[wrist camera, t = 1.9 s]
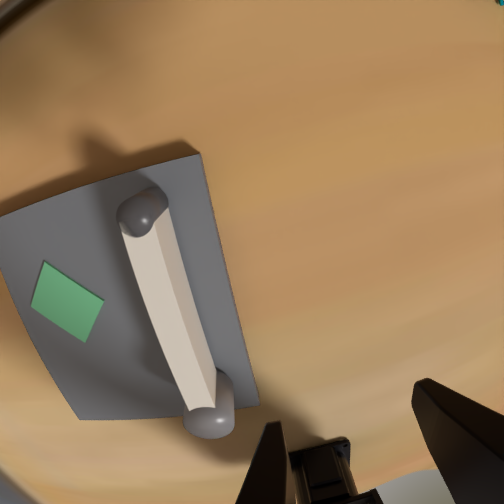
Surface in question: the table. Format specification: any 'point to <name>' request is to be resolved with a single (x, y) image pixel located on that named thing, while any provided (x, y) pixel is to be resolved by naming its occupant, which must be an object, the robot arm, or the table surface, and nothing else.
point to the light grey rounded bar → (175, 313)
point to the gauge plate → (119, 294)
